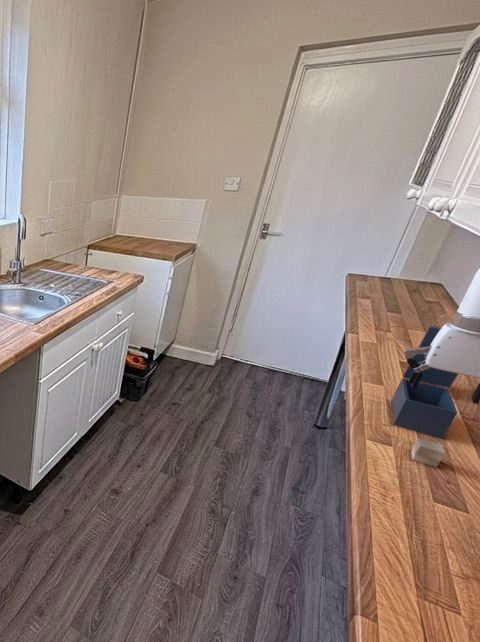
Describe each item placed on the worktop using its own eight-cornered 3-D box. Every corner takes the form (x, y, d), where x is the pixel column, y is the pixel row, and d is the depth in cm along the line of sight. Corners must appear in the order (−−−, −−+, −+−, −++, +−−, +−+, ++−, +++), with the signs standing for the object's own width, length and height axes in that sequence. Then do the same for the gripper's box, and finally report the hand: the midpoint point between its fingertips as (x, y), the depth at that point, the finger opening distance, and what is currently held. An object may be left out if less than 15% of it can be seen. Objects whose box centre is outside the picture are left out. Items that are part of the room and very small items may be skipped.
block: (434, 458, 96) (442, 444, 94) (436, 467, 93) (445, 453, 92) (410, 451, 98) (418, 437, 97) (412, 459, 96) (419, 445, 94)
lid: (481, 336, 102) (481, 334, 102) (429, 327, 107) (429, 325, 108) (449, 388, 110) (449, 386, 111) (402, 377, 115) (402, 375, 116)
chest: (442, 438, 103) (457, 412, 100) (393, 424, 108) (405, 399, 105) (435, 412, 114) (448, 388, 110) (390, 401, 119) (402, 378, 116)
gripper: (540, 329, 85) (498, 400, 91) (420, 310, 96) (390, 375, 102) (549, 339, 80) (503, 414, 86) (421, 318, 91) (390, 386, 97)
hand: (442, 393), depth 94 cm, fingers open, 9 cm apart
